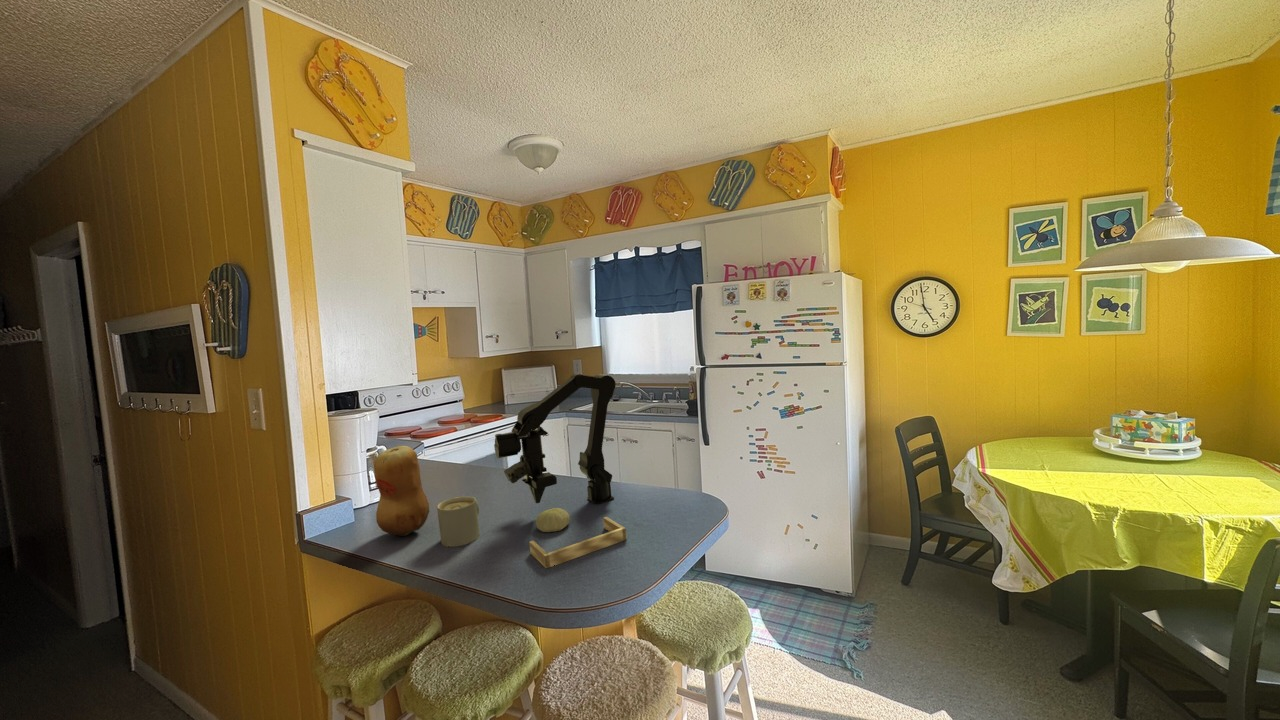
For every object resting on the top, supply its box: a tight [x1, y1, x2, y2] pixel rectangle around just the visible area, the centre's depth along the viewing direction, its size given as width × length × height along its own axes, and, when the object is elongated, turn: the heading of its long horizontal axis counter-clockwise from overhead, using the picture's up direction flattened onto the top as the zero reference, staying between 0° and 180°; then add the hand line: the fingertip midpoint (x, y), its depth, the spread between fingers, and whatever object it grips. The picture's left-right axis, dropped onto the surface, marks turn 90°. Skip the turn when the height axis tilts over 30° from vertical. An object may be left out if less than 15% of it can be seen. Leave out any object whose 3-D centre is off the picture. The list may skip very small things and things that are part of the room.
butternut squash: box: [373, 445, 430, 537], centre depth 143 cm, size 14×13×25 cm
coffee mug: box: [436, 495, 481, 548], centre depth 139 cm, size 13×10×10 cm
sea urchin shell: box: [535, 507, 571, 533], centre depth 141 cm, size 9×8×8 cm
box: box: [529, 516, 627, 569], centre depth 127 cm, size 22×10×3 cm, turn 123°
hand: (537, 502), depth 150 cm, fingers closed
